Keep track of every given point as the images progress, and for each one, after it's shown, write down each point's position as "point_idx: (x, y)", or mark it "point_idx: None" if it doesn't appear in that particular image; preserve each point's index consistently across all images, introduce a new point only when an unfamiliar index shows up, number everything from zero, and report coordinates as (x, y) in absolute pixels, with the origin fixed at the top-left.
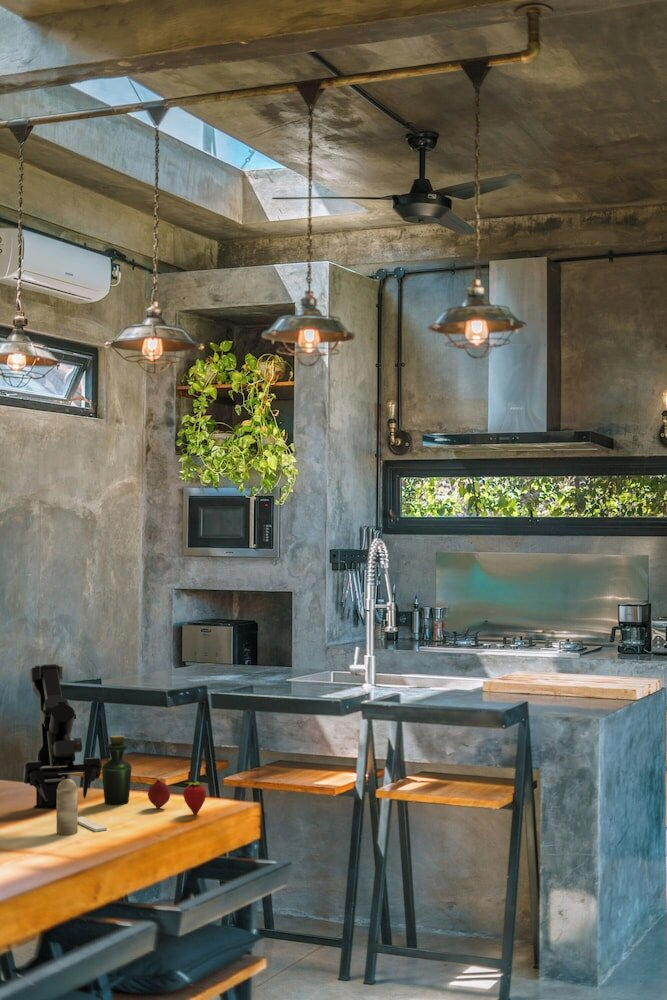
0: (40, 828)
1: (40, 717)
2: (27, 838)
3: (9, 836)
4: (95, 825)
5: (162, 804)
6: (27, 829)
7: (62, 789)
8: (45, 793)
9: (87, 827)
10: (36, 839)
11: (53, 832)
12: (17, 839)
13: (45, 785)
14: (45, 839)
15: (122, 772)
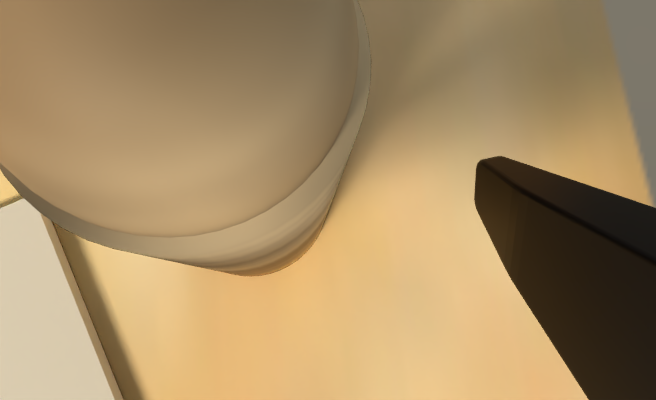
0: (466, 391)
1: None
2: (503, 80)
3: (634, 159)
4: (27, 334)
5: None
6: (557, 370)
7: None
8: (547, 181)
9: (99, 345)
10: (440, 41)
11: (351, 233)
12: (562, 64)
13: (640, 248)
14: (381, 31)
15: None
